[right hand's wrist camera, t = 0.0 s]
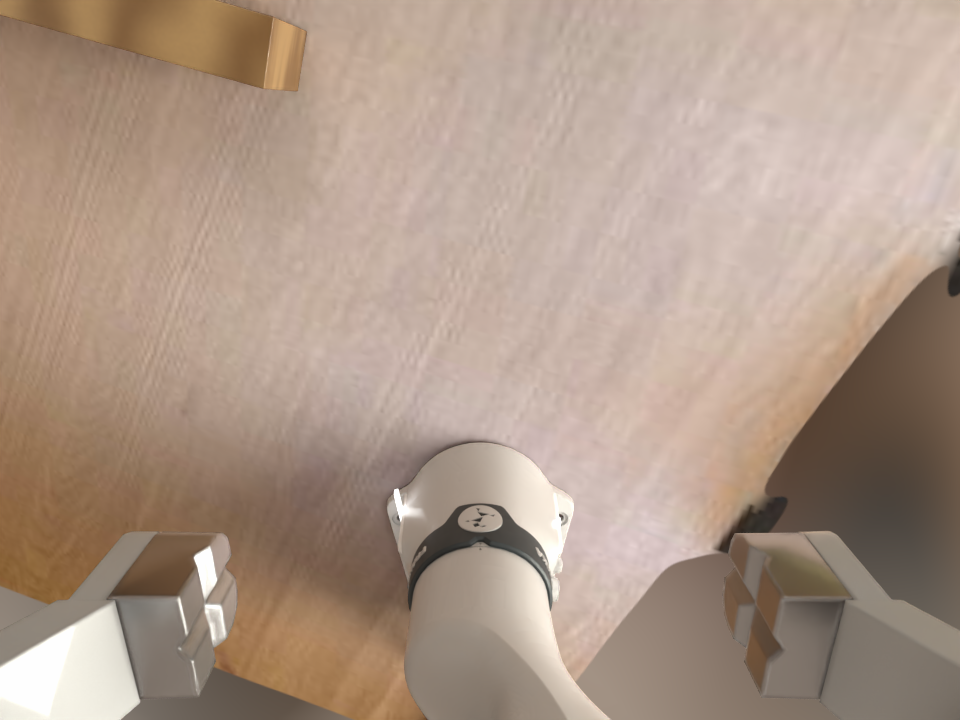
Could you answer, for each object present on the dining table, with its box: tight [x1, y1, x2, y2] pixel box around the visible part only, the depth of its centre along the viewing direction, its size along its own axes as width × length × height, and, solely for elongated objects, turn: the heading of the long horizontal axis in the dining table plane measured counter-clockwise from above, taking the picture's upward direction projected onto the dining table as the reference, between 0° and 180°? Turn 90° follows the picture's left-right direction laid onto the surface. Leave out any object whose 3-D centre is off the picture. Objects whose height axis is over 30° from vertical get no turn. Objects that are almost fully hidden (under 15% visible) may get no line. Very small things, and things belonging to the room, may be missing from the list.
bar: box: [0, 0, 307, 91], centre depth 46 cm, size 26×4×9 cm, turn 75°
